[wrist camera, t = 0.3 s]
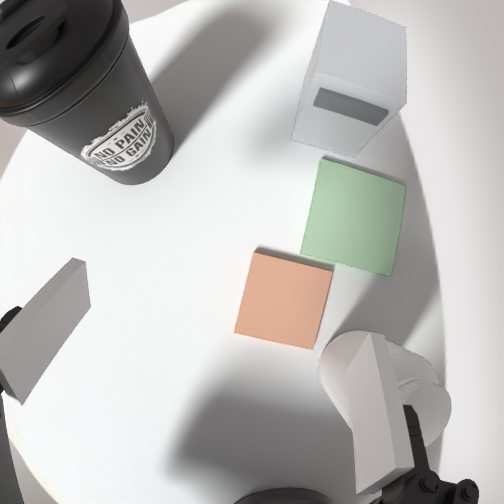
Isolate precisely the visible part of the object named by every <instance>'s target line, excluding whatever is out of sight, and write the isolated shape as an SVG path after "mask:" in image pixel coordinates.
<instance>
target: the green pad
mask: <svg viewBox="0 0 504 504" xmlns="http://www.w3.org/2000/svg"><path fill="white" fill-rule="evenodd" d="M405 191H406V186H404V185H401V184H399V183H396V182H393V181H390V180H387V179H384V178H381V177H379V176H376V175H373V174H370V173H367V172H364V171H360V170H357V169H354V168H351V167H348V166H345V165H341V164H338V163H335V162H331V161H328V160H325V159H321V160H320V163H319V168H318V173H317V178H316V183H315V188H314V192H313V197H312V202H311V206H310V211H309V216H308V220H307V225H306V229H305V234H304V238H303V242H302V247H301V251H300V254H303V255H307V256H311V257H315V258H319V259H323V260H327V261H331V262H335V263H339V264H343V265H347V266H351V267H355V268H359V269H363V270H367V271H371V272H374V273H378V274H382V275H386V276H391V275H392V270H393V266H394V260H395V255H396V250H397V244H398V239H399V233H400V227H401V220H402V214H403V207H404V199H405Z"/></svg>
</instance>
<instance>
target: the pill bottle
mask: <svg viewBox="0 0 504 504" xmlns="http://www.w3.org/2000/svg"><path fill="white" fill-rule="evenodd" d="M368 334H369V332H367V331H361V330H355V331H349V332H346V333H343V334H341V335H339V336H338V337H336V338H335V339H333V340H332V341H331V342H330V343H329V344H328V345H327V347H326V348H325V350H324V351H323V353H322V355H321V358H320V361H319V366H318V375H319V380H320V383H321V385H322V387H323V389H324V390H325V392H326V393H327V395H328V396H329V398H330V399H331V401H332V402H333V404H334V405H335V407H336V408H337V410H338V411H339V412H340V414H341V415H342V417H343V418H344V420H345V421H346V423H347V424H348V426H349V427H350V429H351V430H352V422H351V411H350V402H349V392H348V384H347V375H346V370H347V368H348V367H349V365H350V364H351V362H352V360H353V359H354V357H355V356H356V354H357V352H358V351H359V349H360V347H361V346H362V344H363V342H364V341H365V339H366V337H367V336H368ZM386 342H387V346H388V349H389V353H390V356H391V360H392V364H393V368H394V372H395V376H396V380H397V384H398V388H399V392H400V396H401V400H402V405H412V407H413V408H414V410H415V412H416V413H417V415H418V418H419V422H420V428H421V431H422V437H423V440H424V445H425V448H426V447H427V446H429V445H430V444H431V443H433V442H434V441H435V440H436V439H437V438H438V437H439V436H440V434H441V433H442V432H443V430H444V428H445V427H446V425H447V423H448V420H449V418H450V414H451V399H450V396H449V394H448V393H447V391H446V390H445V389H444V388H443V387H441V386H439V381H438V377H437V374H436V372H435V370H434V368H433V367H432V365H431V364H430V363H429V362H428V361H427V360H426V359H425V358H423V357H421V356H420V355H418V354H416V353H413V352H411V351H409V350H407V349H405V348H403V347H401V346H398V345H396V344H394V343H392V342H390V341H388V340H386Z"/></svg>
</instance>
